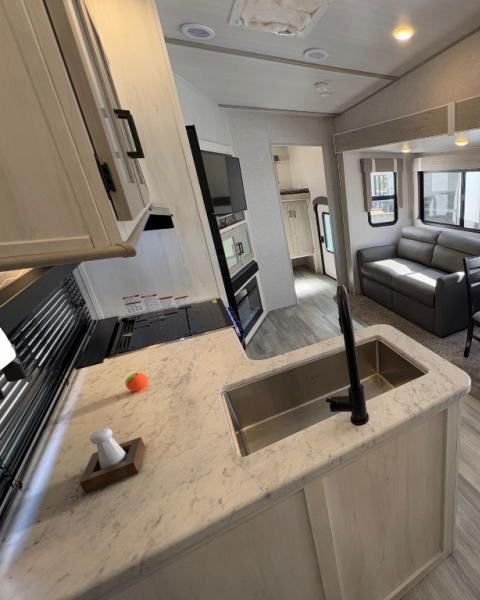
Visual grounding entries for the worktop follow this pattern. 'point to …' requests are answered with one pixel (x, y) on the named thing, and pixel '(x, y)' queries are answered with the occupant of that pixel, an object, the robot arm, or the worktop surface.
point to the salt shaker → (107, 448)
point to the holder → (113, 467)
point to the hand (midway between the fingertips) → (7, 389)
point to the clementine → (136, 382)
